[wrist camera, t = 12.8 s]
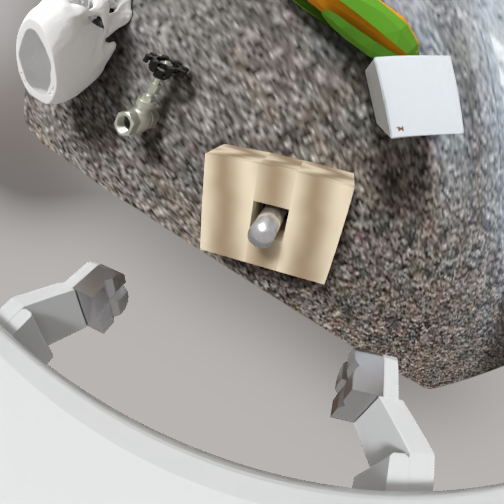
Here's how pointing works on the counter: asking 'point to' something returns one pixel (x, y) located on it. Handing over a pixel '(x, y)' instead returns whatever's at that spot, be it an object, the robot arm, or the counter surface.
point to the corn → (366, 25)
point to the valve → (148, 97)
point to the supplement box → (414, 95)
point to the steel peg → (266, 226)
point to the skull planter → (67, 45)
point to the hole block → (277, 194)
